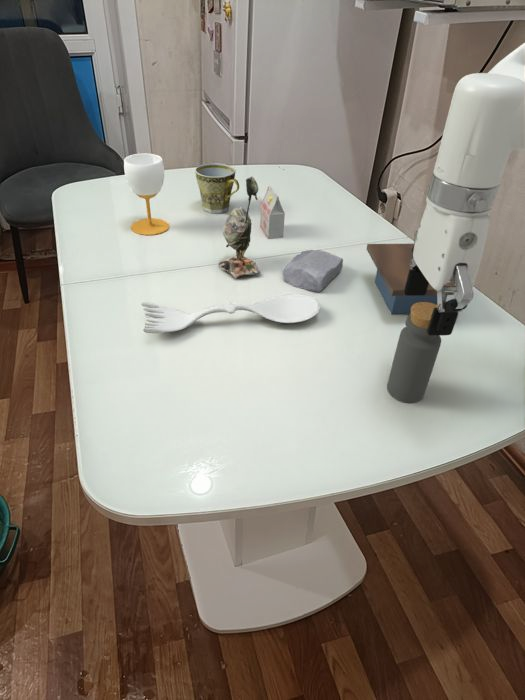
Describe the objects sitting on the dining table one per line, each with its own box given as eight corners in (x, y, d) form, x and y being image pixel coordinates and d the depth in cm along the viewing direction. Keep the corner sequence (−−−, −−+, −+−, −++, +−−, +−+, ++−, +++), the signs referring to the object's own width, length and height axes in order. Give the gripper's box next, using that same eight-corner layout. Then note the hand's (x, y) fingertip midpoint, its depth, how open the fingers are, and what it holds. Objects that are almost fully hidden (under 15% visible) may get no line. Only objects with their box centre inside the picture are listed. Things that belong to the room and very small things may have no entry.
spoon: (142, 315, 93) (140, 299, 91) (310, 299, 100) (311, 284, 97) (145, 345, 86) (142, 328, 84) (324, 326, 93) (326, 310, 91)
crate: (420, 281, 107) (427, 255, 103) (442, 313, 98) (450, 286, 94) (374, 281, 106) (379, 255, 102) (391, 314, 97) (397, 287, 93)
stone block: (278, 288, 106) (323, 294, 101) (276, 267, 103) (321, 271, 98) (304, 267, 114) (346, 271, 109) (302, 246, 112) (345, 250, 107)
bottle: (414, 376, 83) (437, 297, 73) (431, 400, 78) (458, 320, 69) (380, 380, 82) (399, 301, 72) (395, 405, 77) (418, 324, 68)
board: (432, 248, 106) (433, 243, 105) (467, 294, 92) (469, 289, 91) (366, 249, 105) (367, 243, 104) (391, 296, 90) (393, 290, 90)
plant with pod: (251, 253, 114) (253, 162, 102) (262, 278, 105) (266, 183, 93) (215, 255, 112) (213, 164, 100) (223, 282, 104) (222, 185, 91)
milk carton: (274, 225, 126) (276, 185, 120) (283, 237, 121) (286, 196, 115) (260, 226, 125) (261, 186, 119) (268, 238, 120) (270, 197, 114)
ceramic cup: (188, 208, 132) (186, 169, 126) (216, 198, 138) (215, 160, 132) (224, 223, 126) (224, 183, 120) (251, 212, 132) (252, 173, 126)
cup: (123, 231, 120) (113, 162, 110) (143, 216, 127) (136, 150, 117) (157, 238, 118) (150, 168, 108) (176, 223, 125) (171, 156, 115)
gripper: (527, 224, 54) (477, 351, 64) (462, 168, 67) (429, 281, 78) (460, 223, 53) (420, 352, 64) (407, 167, 67) (382, 281, 77)
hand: (425, 313), depth 71 cm, fingers open, 9 cm apart
